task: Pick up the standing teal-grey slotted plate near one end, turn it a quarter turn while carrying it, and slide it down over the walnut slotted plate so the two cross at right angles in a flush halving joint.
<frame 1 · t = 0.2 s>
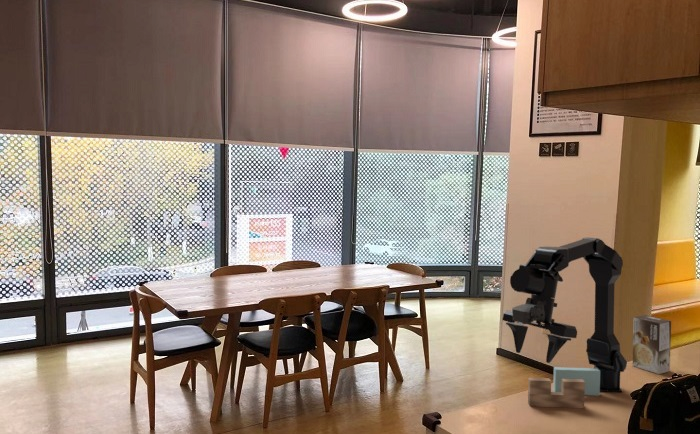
hand: (532, 357, 136), 15 cm above the counter, tool pointing down, fingers open, 9 cm apart
coffee box: (650, 369, 172), on the counter
teal slotted plate: (576, 393, 152), on the counter
walnut slotted plate: (555, 405, 144), on the counter
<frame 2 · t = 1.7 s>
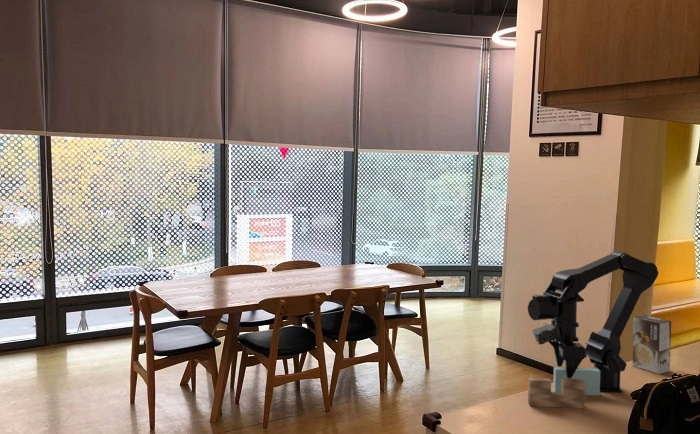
hand: (564, 372, 152), 6 cm above the counter, tool pointing down, fingers open, 9 cm apart
nothing on the counter moved.
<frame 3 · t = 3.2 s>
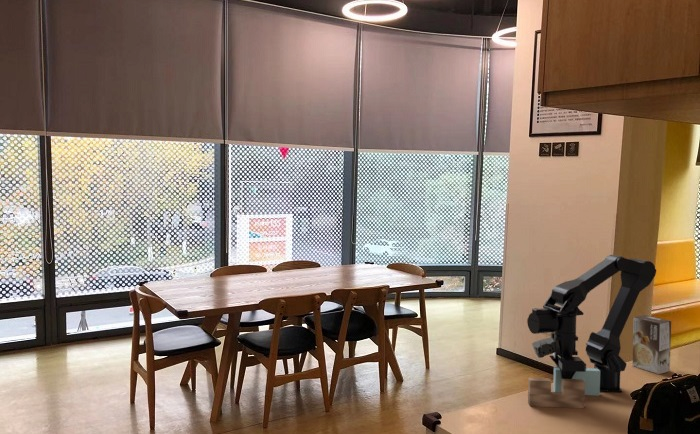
hand: (563, 385, 152), 2 cm above the counter, tool pointing down, fingers closed on teal slotted plate, 2 cm apart
teal slotted plate: (576, 393, 152), on the counter, touching gripper
everything else where it was.
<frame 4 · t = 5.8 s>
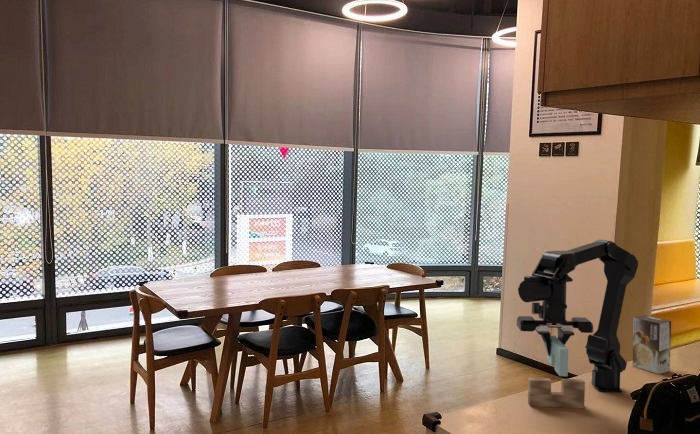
hand: (553, 355, 146), 12 cm above the counter, tool pointing down, fingers closed on teal slotted plate
teal slotted plate: (556, 367, 143), point 10 cm above the counter, touching gripper
everything else where it was.
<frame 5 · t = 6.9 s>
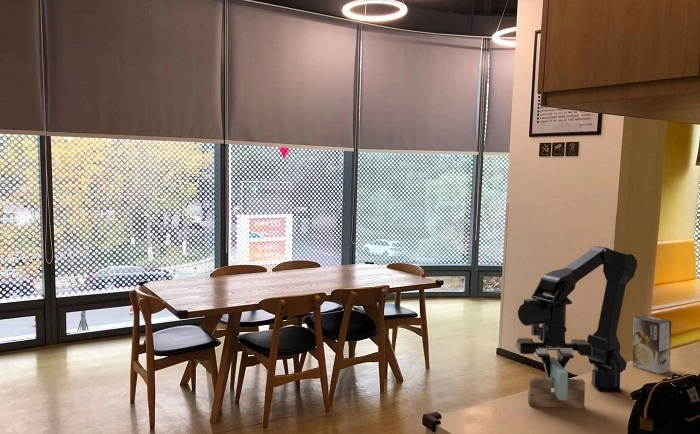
hand: (552, 377, 147), 6 cm above the counter, tool pointing down, fingers closed on teal slotted plate
teal slotted plate: (556, 390, 143), point 4 cm above the counter, touching gripper
everything else where it was.
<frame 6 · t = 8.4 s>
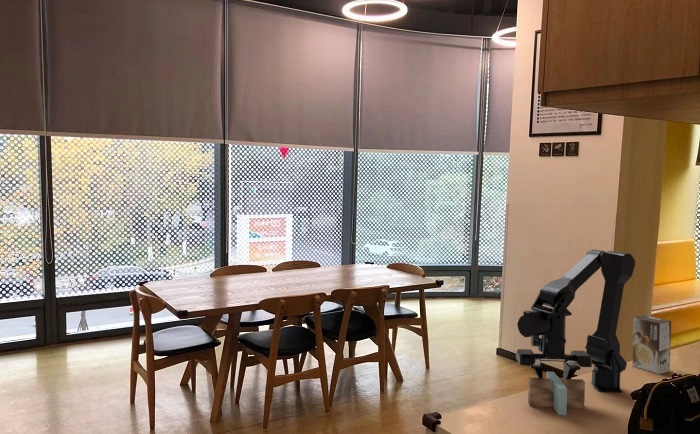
hand: (552, 388, 147), 3 cm above the counter, tool pointing down, fingers open, 6 cm apart
teal slotted plate: (555, 405, 144), on the counter
everything else where it was.
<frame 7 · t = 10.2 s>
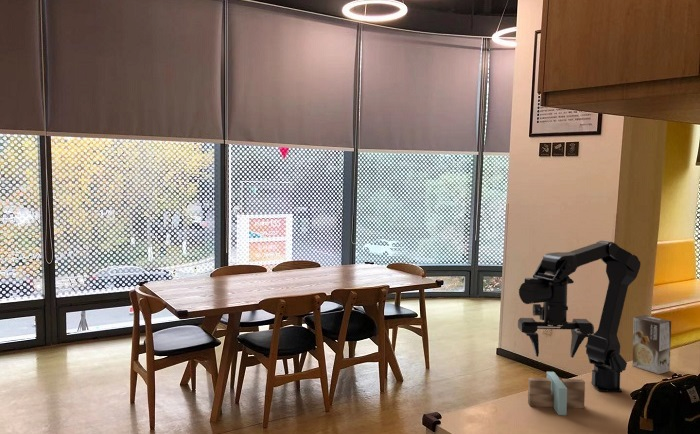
hand: (554, 356, 147), 12 cm above the counter, tool pointing down, fingers open, 9 cm apart
nothing on the counter moved.
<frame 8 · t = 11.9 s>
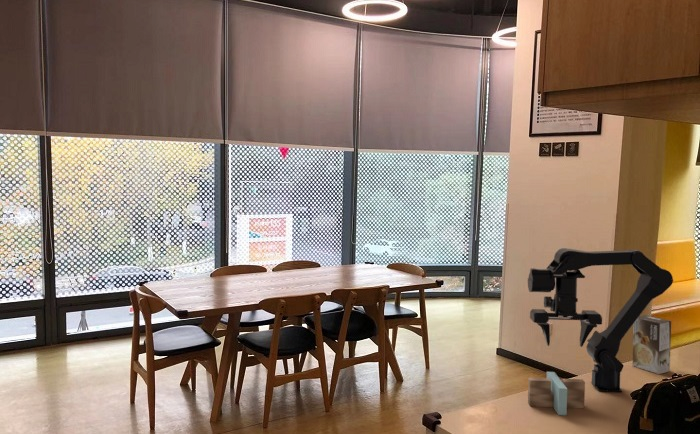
hand: (564, 345, 156), 12 cm above the counter, tool pointing down, fingers open, 9 cm apart
nothing on the counter moved.
at the end: teal slotted plate 0.1 cm off-centre on the walnut slotted plate, point 0.0 cm above the walnut slotted plate's base; teal slotted plate tilted 0°; the gripper is holding nothing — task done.
